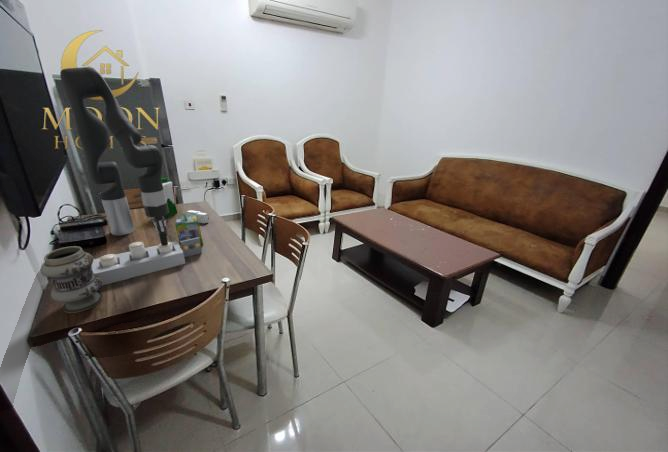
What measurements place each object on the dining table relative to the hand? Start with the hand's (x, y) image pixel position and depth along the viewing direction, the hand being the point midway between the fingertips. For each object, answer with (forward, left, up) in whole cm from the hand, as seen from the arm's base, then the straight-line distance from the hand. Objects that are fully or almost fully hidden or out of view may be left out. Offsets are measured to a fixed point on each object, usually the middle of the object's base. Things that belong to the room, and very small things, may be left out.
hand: (164, 244), depth 113 cm
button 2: (0, -9, -3) cm, 9 cm away
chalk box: (-12, +11, -8) cm, 18 cm away
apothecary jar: (+14, -26, -8) cm, 30 cm away
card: (0, +9, -7) cm, 12 cm away
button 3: (0, 0, -5) cm, 5 cm away
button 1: (0, -18, -5) cm, 19 cm away
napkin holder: (-37, +20, -8) cm, 42 cm away
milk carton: (-56, +8, -8) cm, 57 cm away
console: (0, -9, -7) cm, 12 cm away
